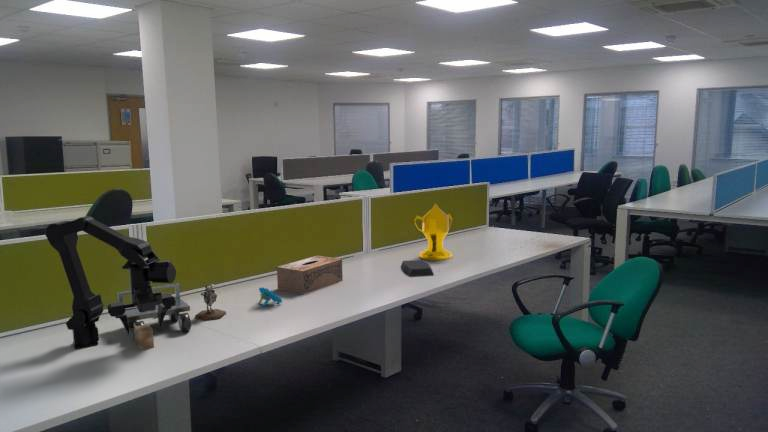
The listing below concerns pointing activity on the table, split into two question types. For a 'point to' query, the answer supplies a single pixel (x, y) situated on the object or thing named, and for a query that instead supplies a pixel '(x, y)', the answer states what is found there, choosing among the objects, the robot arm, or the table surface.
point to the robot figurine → (209, 300)
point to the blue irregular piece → (268, 296)
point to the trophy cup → (435, 233)
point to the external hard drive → (416, 268)
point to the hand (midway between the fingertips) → (144, 331)
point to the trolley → (173, 312)
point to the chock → (144, 337)
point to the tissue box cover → (309, 274)
